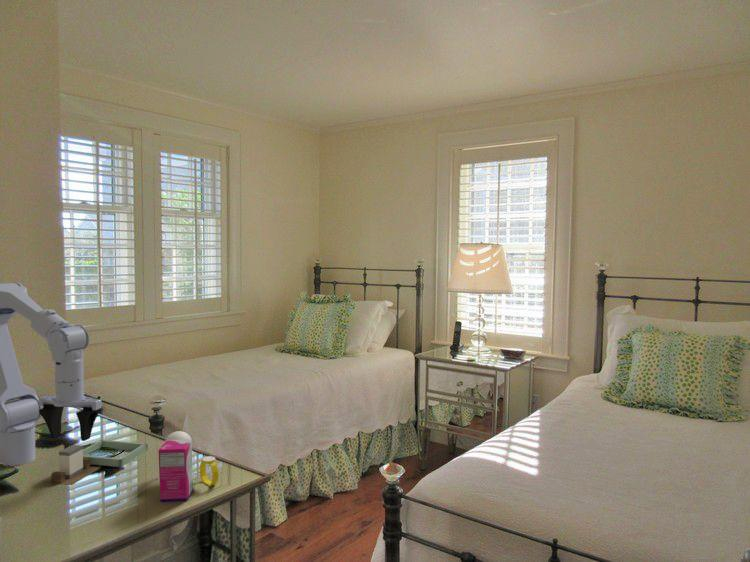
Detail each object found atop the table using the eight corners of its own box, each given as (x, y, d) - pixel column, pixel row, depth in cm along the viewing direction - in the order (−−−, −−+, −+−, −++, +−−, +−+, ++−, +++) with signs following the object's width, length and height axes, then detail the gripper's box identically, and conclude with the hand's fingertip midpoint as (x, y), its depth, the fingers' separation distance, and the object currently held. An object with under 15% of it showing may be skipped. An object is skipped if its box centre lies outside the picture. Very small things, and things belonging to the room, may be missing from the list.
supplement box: (166, 490, 123) (165, 439, 122) (193, 489, 123) (193, 438, 122) (158, 502, 117) (157, 449, 116) (187, 501, 118) (187, 448, 117)
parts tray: (72, 465, 135) (72, 455, 135) (101, 449, 146) (101, 439, 146) (121, 470, 133) (121, 459, 133) (147, 453, 144) (147, 443, 143)
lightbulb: (183, 485, 125) (183, 437, 124) (158, 482, 126) (158, 435, 126) (197, 474, 131) (197, 428, 130) (173, 471, 132) (173, 426, 132)
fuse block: (39, 485, 124) (39, 472, 124) (71, 467, 134) (71, 456, 134) (71, 488, 123) (71, 476, 122) (101, 470, 132) (101, 458, 132)
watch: (221, 487, 126) (222, 461, 125) (210, 490, 123) (211, 465, 123) (207, 477, 130) (208, 452, 129) (196, 480, 128) (197, 455, 127)
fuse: (59, 477, 126) (59, 451, 126) (73, 469, 131) (72, 444, 130) (69, 478, 126) (69, 452, 125) (83, 470, 130) (82, 445, 130)
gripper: (27, 382, 124) (29, 441, 125) (86, 386, 121) (87, 446, 122) (51, 374, 131) (52, 431, 132) (107, 378, 128) (108, 435, 129)
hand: (70, 438), depth 128 cm, fingers open, 7 cm apart
